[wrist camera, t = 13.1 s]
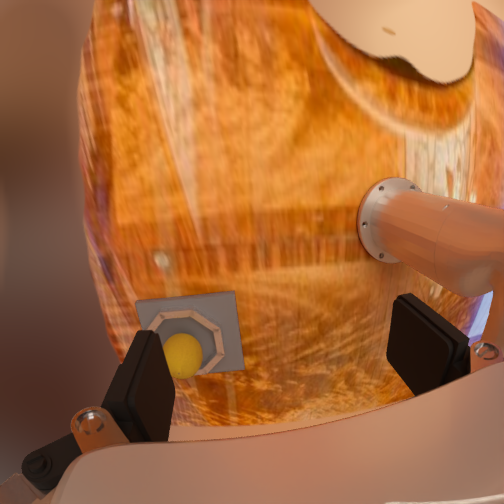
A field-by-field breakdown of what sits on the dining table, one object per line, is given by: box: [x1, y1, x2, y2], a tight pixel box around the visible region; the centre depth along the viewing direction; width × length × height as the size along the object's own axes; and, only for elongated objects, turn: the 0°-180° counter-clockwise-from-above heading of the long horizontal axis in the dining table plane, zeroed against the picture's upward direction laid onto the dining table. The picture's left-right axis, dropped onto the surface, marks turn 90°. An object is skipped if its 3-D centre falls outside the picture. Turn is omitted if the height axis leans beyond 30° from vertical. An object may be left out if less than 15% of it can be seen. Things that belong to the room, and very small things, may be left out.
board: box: [135, 291, 245, 373], centre depth 41 cm, size 14×13×1 cm
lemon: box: [163, 333, 203, 379], centre depth 37 cm, size 6×6×8 cm
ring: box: [145, 305, 225, 375], centre depth 40 cm, size 11×11×2 cm
